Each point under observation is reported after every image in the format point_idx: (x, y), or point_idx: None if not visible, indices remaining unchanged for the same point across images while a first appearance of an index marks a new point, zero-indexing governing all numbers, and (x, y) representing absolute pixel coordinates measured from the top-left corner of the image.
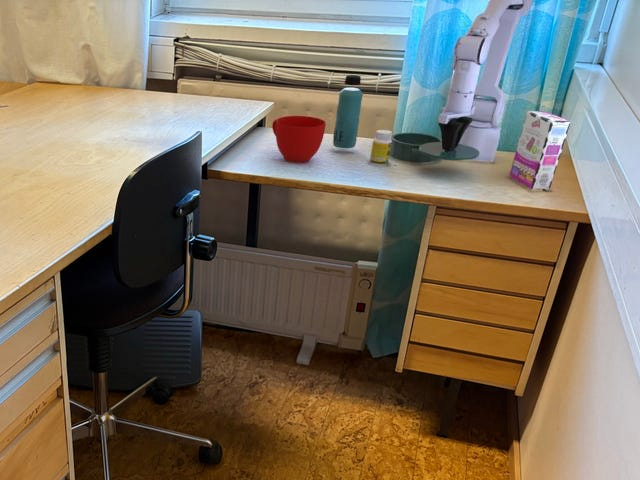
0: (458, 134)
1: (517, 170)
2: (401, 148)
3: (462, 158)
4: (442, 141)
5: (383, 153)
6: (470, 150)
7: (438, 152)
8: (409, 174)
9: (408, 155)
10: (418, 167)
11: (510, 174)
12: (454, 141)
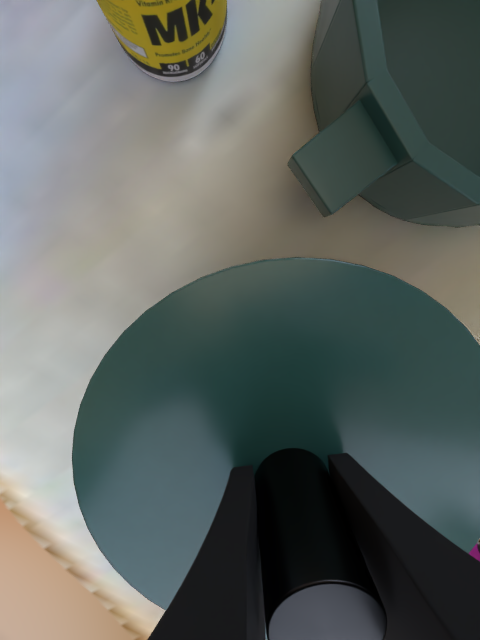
0: (389, 636)
1: None
2: (333, 15)
3: None
4: (216, 516)
5: (113, 13)
6: None
7: (162, 478)
8: (164, 274)
9: (332, 110)
10: (305, 223)
11: (478, 557)
12: (263, 609)
